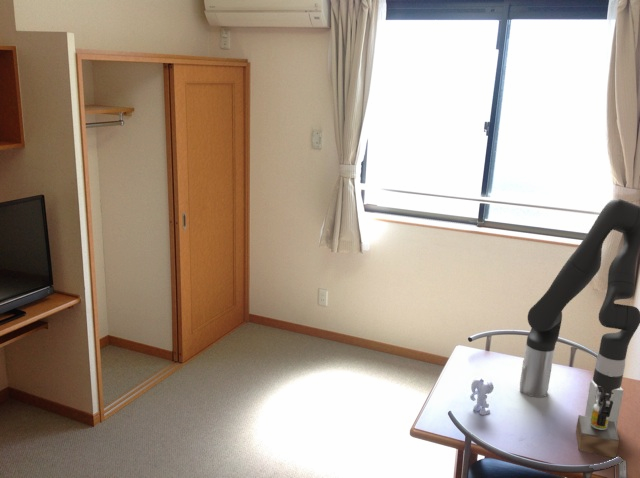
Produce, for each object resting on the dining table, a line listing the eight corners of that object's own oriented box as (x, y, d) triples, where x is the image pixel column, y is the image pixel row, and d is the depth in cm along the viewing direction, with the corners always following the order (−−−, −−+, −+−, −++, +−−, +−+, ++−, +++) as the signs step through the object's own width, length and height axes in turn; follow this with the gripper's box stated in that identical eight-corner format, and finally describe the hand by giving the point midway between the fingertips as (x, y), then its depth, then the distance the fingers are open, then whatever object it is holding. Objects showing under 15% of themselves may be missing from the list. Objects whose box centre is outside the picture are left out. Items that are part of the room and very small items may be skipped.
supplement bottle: (587, 421, 179) (591, 396, 177) (601, 421, 180) (606, 396, 178) (595, 430, 175) (600, 405, 173) (610, 430, 175) (615, 405, 173)
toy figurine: (495, 413, 194) (499, 380, 190) (482, 419, 190) (487, 385, 187) (478, 403, 199) (482, 371, 196) (465, 409, 195) (469, 376, 192)
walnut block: (578, 450, 176) (581, 432, 174) (575, 431, 185) (578, 415, 184) (615, 458, 173) (619, 440, 171) (610, 438, 182) (614, 421, 181)
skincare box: (609, 421, 192) (617, 380, 188) (616, 432, 186) (625, 390, 182) (582, 419, 192) (590, 378, 188) (589, 430, 186) (597, 388, 182)
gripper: (592, 356, 180) (583, 405, 185) (598, 378, 167) (588, 431, 171) (619, 360, 178) (609, 410, 182) (627, 383, 165) (616, 436, 169)
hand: (599, 420), depth 177 cm, fingers closed on supplement bottle, 4 cm apart
